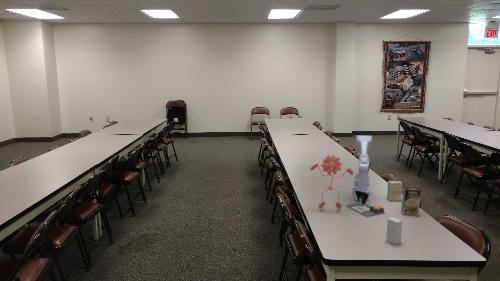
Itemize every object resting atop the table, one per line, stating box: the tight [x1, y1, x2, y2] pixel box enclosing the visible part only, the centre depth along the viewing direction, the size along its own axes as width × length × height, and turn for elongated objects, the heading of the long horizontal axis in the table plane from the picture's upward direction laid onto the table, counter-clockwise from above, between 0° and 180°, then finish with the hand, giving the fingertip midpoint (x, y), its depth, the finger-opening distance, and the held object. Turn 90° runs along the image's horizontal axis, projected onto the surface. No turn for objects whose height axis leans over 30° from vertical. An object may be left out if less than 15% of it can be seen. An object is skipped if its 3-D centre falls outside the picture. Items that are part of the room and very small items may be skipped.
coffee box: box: [400, 186, 422, 217], centre depth 225 cm, size 9×6×16 cm
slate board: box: [345, 202, 386, 218], centre depth 232 cm, size 20×14×3 cm
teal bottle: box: [358, 196, 364, 207], centre depth 231 cm, size 3×3×6 cm
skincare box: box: [385, 216, 403, 245], centre depth 188 cm, size 6×4×12 cm
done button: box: [373, 205, 382, 210], centre depth 227 cm, size 4×4×2 cm
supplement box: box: [386, 180, 403, 202], centre depth 248 cm, size 8×5×13 cm, turn 92°
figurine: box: [309, 154, 354, 214], centre depth 231 cm, size 15×26×35 cm, turn 84°
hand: (361, 202), depth 232 cm, fingers closed on teal bottle, 3 cm apart
